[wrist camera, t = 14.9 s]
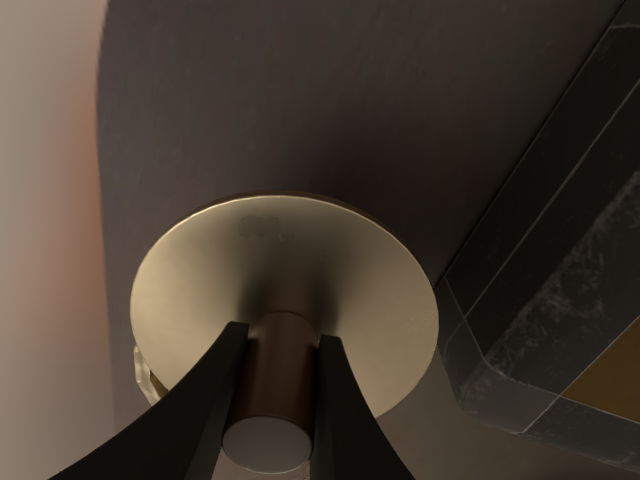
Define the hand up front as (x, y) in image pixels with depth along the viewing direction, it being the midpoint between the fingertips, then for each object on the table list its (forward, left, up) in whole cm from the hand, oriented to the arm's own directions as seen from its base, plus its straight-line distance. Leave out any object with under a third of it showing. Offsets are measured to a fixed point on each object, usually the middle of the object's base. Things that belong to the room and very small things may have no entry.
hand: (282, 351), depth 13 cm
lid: (0, 0, -1) cm, 1 cm away
